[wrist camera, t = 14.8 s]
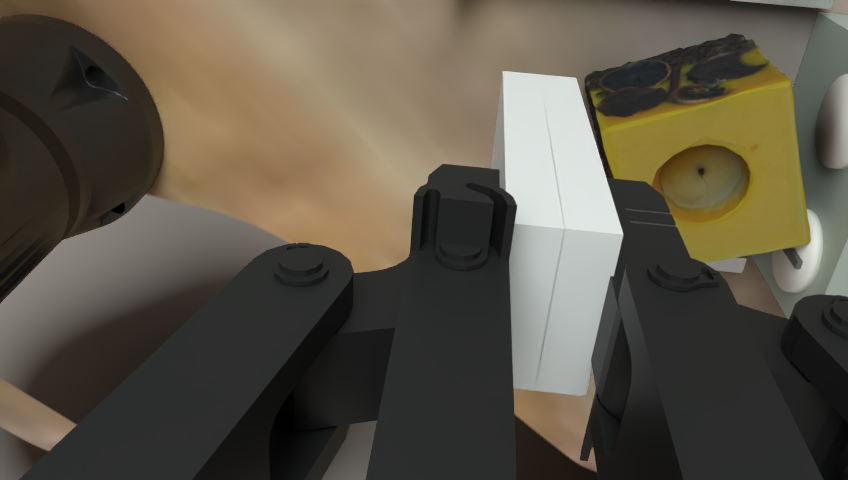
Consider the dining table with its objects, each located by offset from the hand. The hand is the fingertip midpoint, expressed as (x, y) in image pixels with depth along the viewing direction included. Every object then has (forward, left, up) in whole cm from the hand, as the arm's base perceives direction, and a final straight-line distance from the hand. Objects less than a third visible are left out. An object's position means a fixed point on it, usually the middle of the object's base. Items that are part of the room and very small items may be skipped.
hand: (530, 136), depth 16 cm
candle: (+12, -11, -33) cm, 37 cm away
